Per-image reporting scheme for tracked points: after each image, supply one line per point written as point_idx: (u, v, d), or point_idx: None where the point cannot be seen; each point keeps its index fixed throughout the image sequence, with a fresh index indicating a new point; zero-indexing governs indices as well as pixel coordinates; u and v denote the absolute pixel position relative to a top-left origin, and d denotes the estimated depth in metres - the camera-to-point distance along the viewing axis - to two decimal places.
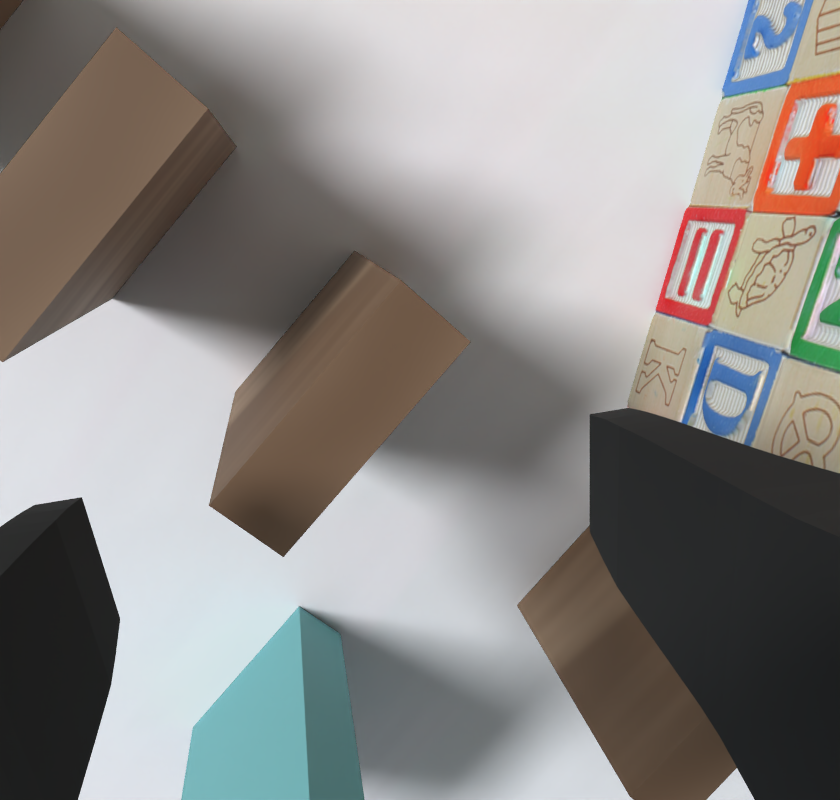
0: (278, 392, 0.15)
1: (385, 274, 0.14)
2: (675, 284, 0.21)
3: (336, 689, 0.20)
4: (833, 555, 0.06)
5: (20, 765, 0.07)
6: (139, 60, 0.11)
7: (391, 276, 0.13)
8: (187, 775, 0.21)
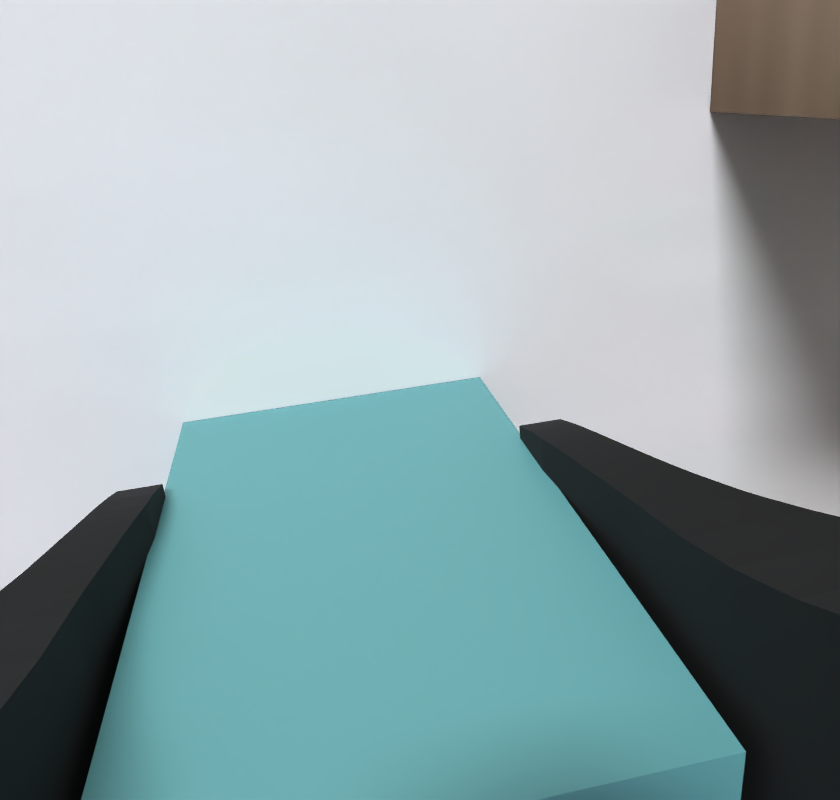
0: None
1: None
2: None
3: None
4: (714, 579, 0.06)
5: None
6: None
7: None
8: (174, 484, 0.10)
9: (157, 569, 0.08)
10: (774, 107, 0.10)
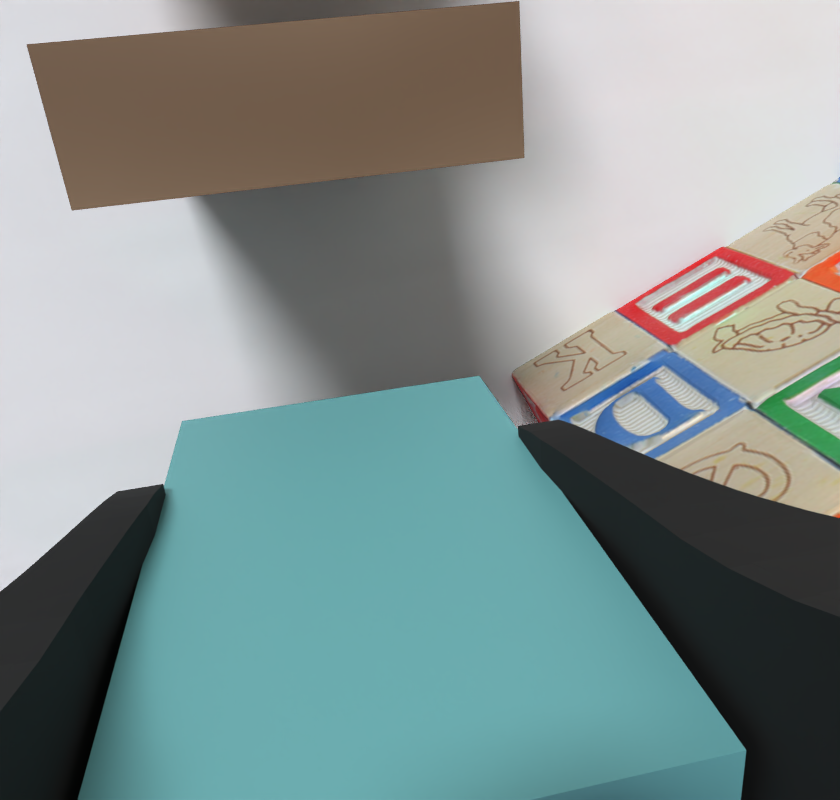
0: None
1: None
2: (656, 299, 0.18)
3: None
4: (712, 579, 0.06)
5: None
6: None
7: None
8: (173, 482, 0.10)
9: (155, 567, 0.08)
10: None
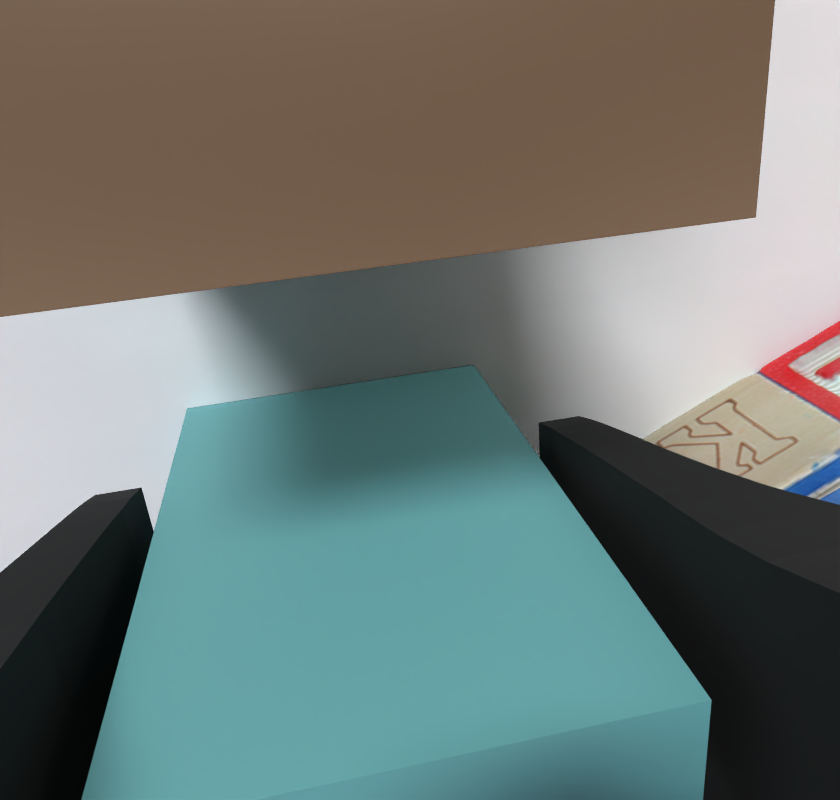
0: None
1: None
2: (818, 360, 0.14)
3: None
4: (747, 572, 0.06)
5: None
6: None
7: None
8: (180, 465, 0.11)
9: (164, 542, 0.09)
10: None
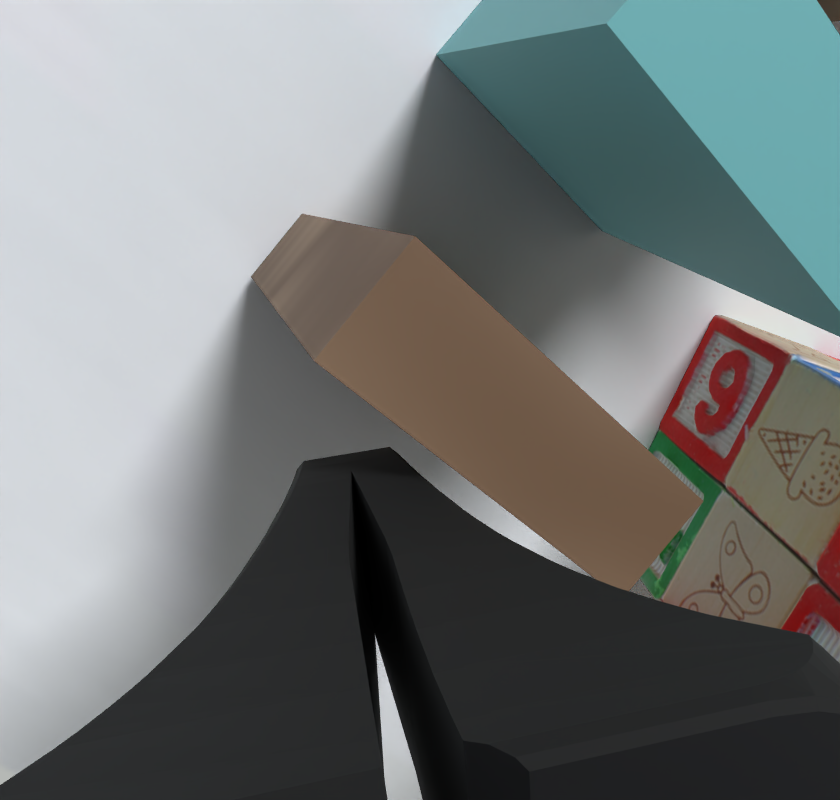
0: None
1: None
2: None
3: None
4: (413, 638, 0.06)
5: (371, 693, 0.08)
6: None
7: None
8: None
9: None
10: None
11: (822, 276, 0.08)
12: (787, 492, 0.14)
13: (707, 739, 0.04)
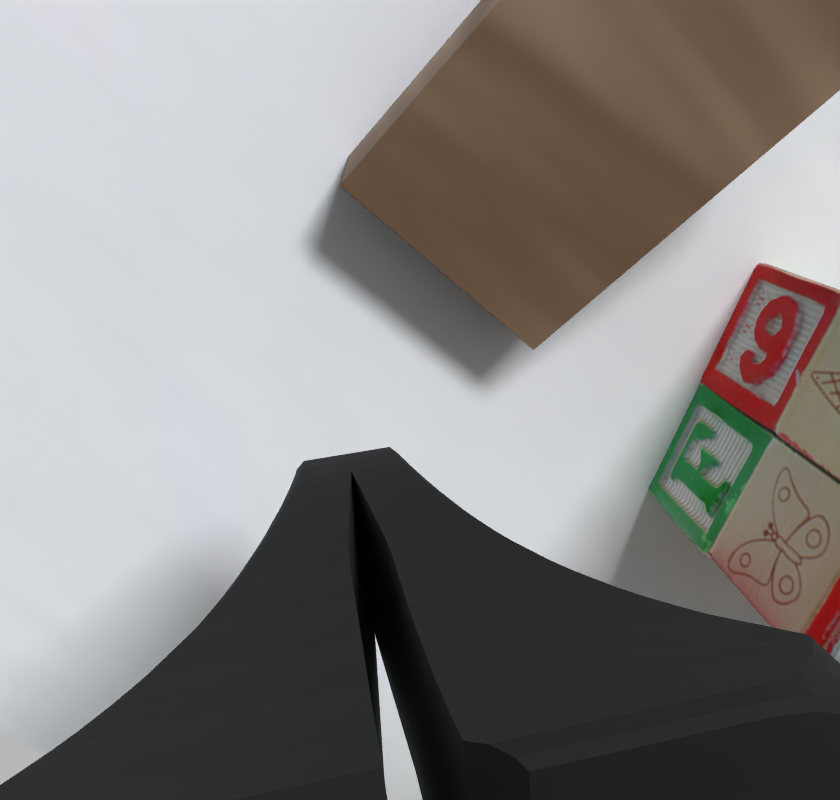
0: None
1: None
2: None
3: None
4: (413, 638, 0.06)
5: (370, 692, 0.08)
6: None
7: None
8: None
9: None
10: None
11: None
12: None
13: (707, 739, 0.04)
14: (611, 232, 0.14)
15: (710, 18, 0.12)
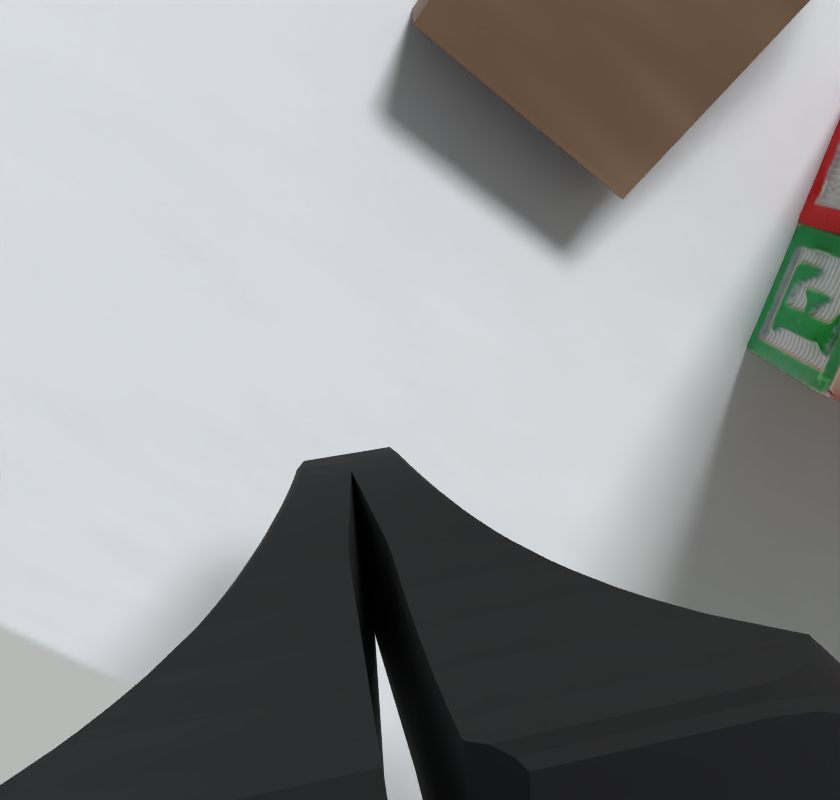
0: None
1: None
2: None
3: None
4: (412, 637, 0.06)
5: (370, 693, 0.08)
6: None
7: None
8: None
9: None
10: None
11: None
12: None
13: (706, 739, 0.04)
14: (703, 50, 0.13)
15: None
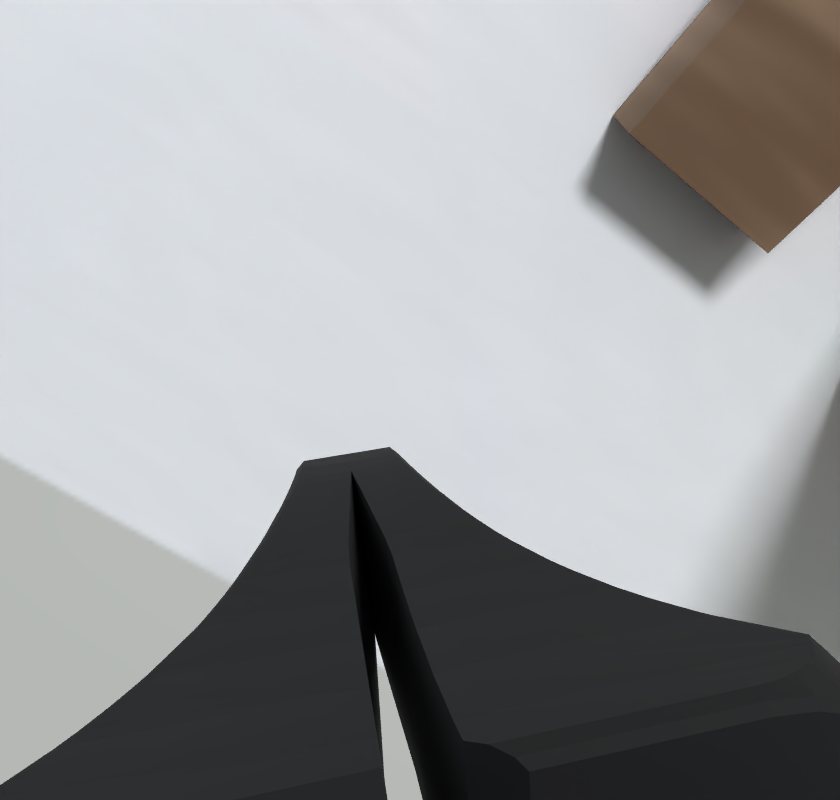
0: None
1: None
2: None
3: None
4: (413, 638, 0.06)
5: (371, 692, 0.08)
6: None
7: None
8: None
9: None
10: None
11: None
12: None
13: (707, 739, 0.04)
14: (838, 148, 0.17)
15: None
